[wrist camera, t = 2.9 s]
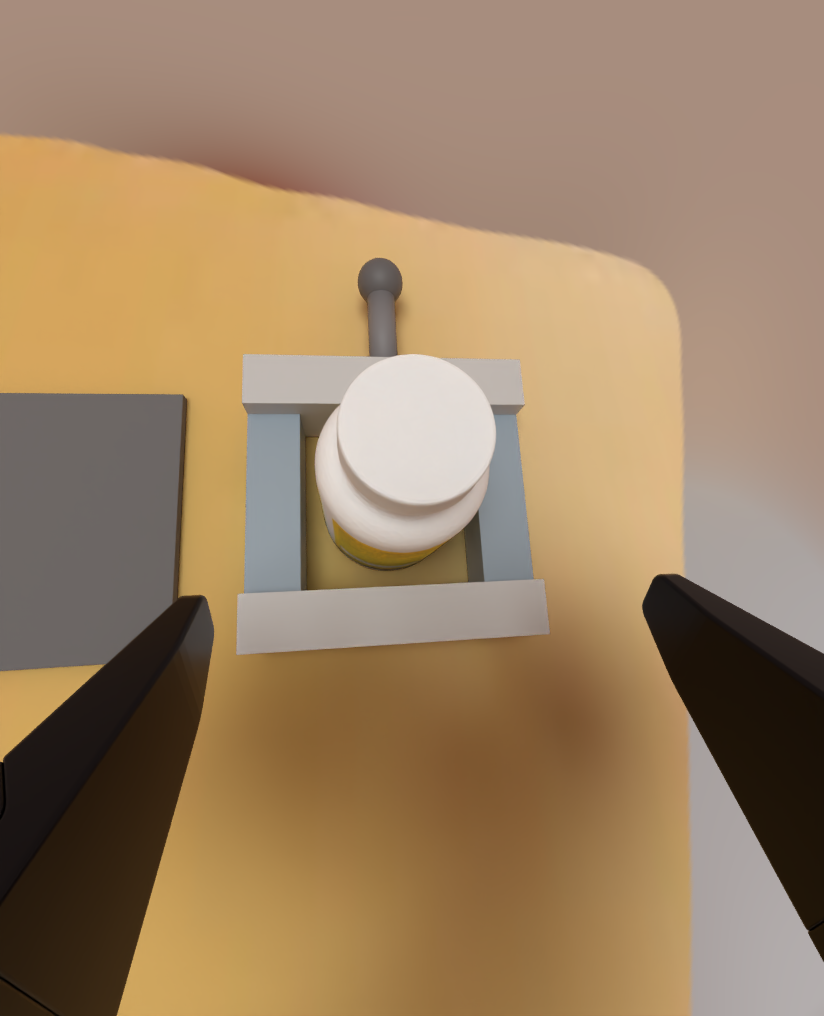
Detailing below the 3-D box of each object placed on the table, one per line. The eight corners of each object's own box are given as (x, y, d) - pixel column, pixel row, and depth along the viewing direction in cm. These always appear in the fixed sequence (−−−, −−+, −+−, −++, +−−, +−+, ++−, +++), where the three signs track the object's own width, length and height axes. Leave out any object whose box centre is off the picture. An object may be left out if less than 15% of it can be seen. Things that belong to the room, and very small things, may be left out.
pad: (174, 658, 18) (169, 659, 18) (-149, 679, 17) (-163, 681, 16) (186, 399, 21) (183, 394, 20) (-97, 397, 19) (-108, 392, 19)
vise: (516, 630, 20) (549, 634, 17) (256, 646, 19) (236, 654, 15) (484, 297, 24) (506, 245, 20) (261, 288, 22) (246, 230, 19)
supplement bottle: (465, 541, 21) (562, 484, 11) (354, 592, 20) (359, 577, 10) (414, 435, 22) (466, 301, 12) (305, 479, 21) (268, 369, 11)
